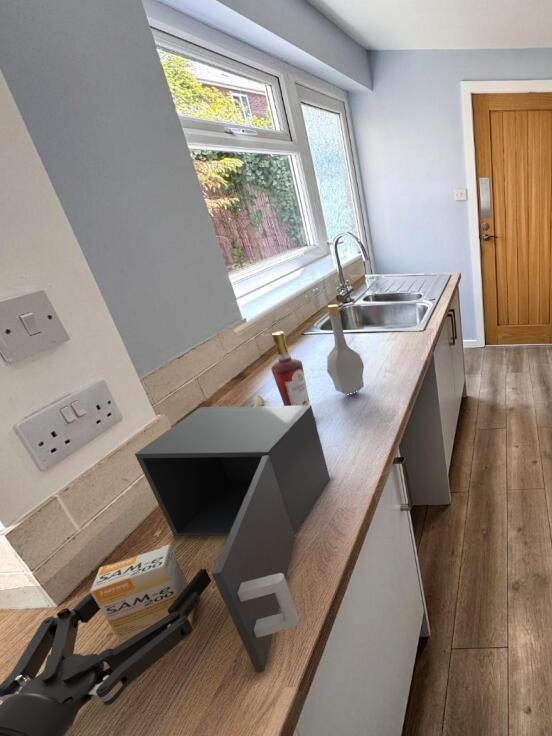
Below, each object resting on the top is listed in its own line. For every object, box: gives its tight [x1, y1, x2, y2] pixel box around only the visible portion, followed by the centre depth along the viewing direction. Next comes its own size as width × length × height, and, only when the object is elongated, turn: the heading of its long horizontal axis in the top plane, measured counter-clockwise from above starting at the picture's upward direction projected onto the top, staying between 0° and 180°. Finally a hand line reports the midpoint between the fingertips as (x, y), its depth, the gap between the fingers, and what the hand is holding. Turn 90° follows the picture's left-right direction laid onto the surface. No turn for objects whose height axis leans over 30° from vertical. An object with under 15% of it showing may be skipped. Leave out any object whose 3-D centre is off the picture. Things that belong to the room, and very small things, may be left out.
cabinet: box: [134, 404, 331, 538], centre depth 82 cm, size 16×24×20 cm, turn 89°
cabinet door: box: [211, 455, 301, 674], centre depth 64 cm, size 6×24×20 cm, turn 17°
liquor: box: [270, 331, 316, 419], centre depth 109 cm, size 7×7×28 cm
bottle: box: [326, 304, 365, 396], centre depth 125 cm, size 11×11×30 cm
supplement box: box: [89, 543, 195, 644], centre depth 60 cm, size 8×5×13 cm, turn 120°
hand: (164, 574), depth 63 cm, fingers open, 13 cm apart
